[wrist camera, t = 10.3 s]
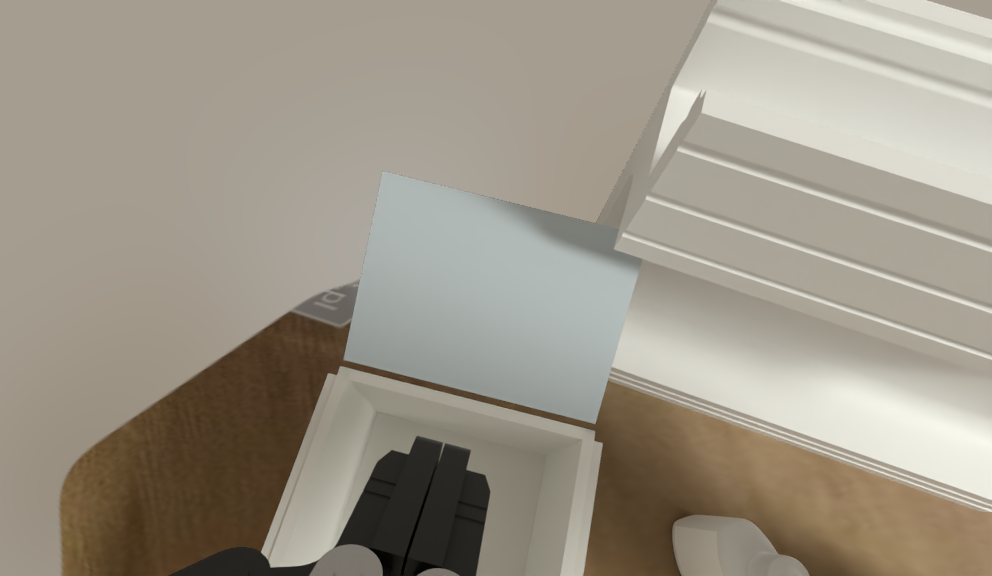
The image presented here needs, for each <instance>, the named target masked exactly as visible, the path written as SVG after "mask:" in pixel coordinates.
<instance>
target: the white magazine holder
mask: <svg viewBox="0 0 992 576" xmlns="http://www.w3.org/2000/svg"><path fill="white" fill-rule="evenodd" d="M596 224H600V225H604V226H608V227H612V228H616V229H619V232H618V235H617V239H616V242H615V246H614V249H615V250H618V251H621V252H624V253H626V254H629V255H632V256H635V257H638V258H641V259H642V263H641V266H640V270H639V273H638V277H637V280H636V284H635V287H634V291H633V294H632V298H631V301H630V305H629V308H628V312H627V315H626V319H625V322H624V326H623V329H622V333H621V336H620V340H619V343H618V347H617V350H616V354H615V357H614V361H613V364H612V368H611V371H610V374H609V378H608V381H611V382H614V383H616V384H619V385H622V386H625V387H628V388H631V389H633V390H636V391H639V392H642V393H645V394H648V395H650V396H653V397H656V398H659V399H662V400H665V401H667V402H670V403H673V404H676V405H679V406H682V407H685V408H687V409H690V410H693V411H696V412H699V413H702V414H704V415H707V416H710V417H713V418H716V419H719V420H721V421H724V422H727V423H730V424H733V425H736V426H738V427H741V428H744V429H747V430H750V431H753V432H756V433H758V434H761V435H764V436H767V437H770V438H773V439H775V440H778V441H781V442H784V443H787V444H790V445H792V446H795V447H798V448H801V449H804V450H807V451H809V452H812V453H815V454H818V455H821V456H824V457H827V458H829V459H832V460H835V461H838V462H841V463H844V464H846V465H849V466H852V467H855V468H858V469H861V470H863V471H866V472H869V473H872V474H875V475H878V476H880V477H883V478H886V479H889V480H892V481H895V482H898V483H900V484H903V485H906V486H909V487H912V488H915V489H917V490H920V491H923V492H926V493H929V494H932V495H934V496H937V497H940V498H943V499H946V500H949V501H952V502H954V503H957V504H960V505H963V506H966V507H969V508H971V509H974V510H977V511H980V512H992V20H991V19H987V18H984V17H980V16H977V15H974V14H970V13H967V12H963V11H960V10H957V9H953V8H950V7H947V6H943V5H940V4H936V3H933V2H930V1H926V0H711V1H710V3H709V5H708V7H707V9H706V11H705V13H704V15H703V17H702V19H701V20H700V22H699V24H698V26H697V28H696V30H695V32H694V34H693V36H692V38H691V40H690V42H689V44H688V45H687V48H686V50H685V51H684V53H683V55H682V57H681V59H680V61H679V63H678V65H677V67H676V69H675V71H674V73H673V75H672V77H671V78H670V80H669V83H668V85H667V86H666V88H665V90H664V92H663V94H662V96H661V98H660V100H659V102H658V104H657V106H656V108H655V109H654V111H653V113H652V115H651V117H650V119H649V121H648V123H647V125H646V127H645V129H644V131H643V133H642V135H641V137H640V139H639V141H638V142H637V144H636V146H635V148H634V150H633V152H632V154H631V156H630V158H629V160H628V162H627V164H626V166H625V168H624V169H623V171H622V174H621V176H620V177H619V179H618V181H617V183H616V185H615V187H614V189H613V191H612V193H611V195H610V197H609V199H608V200H607V203H606V204H605V206H604V208H603V210H602V212H601V214H600V216H599V218H598V220H597V222H596Z"/></svg>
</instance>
